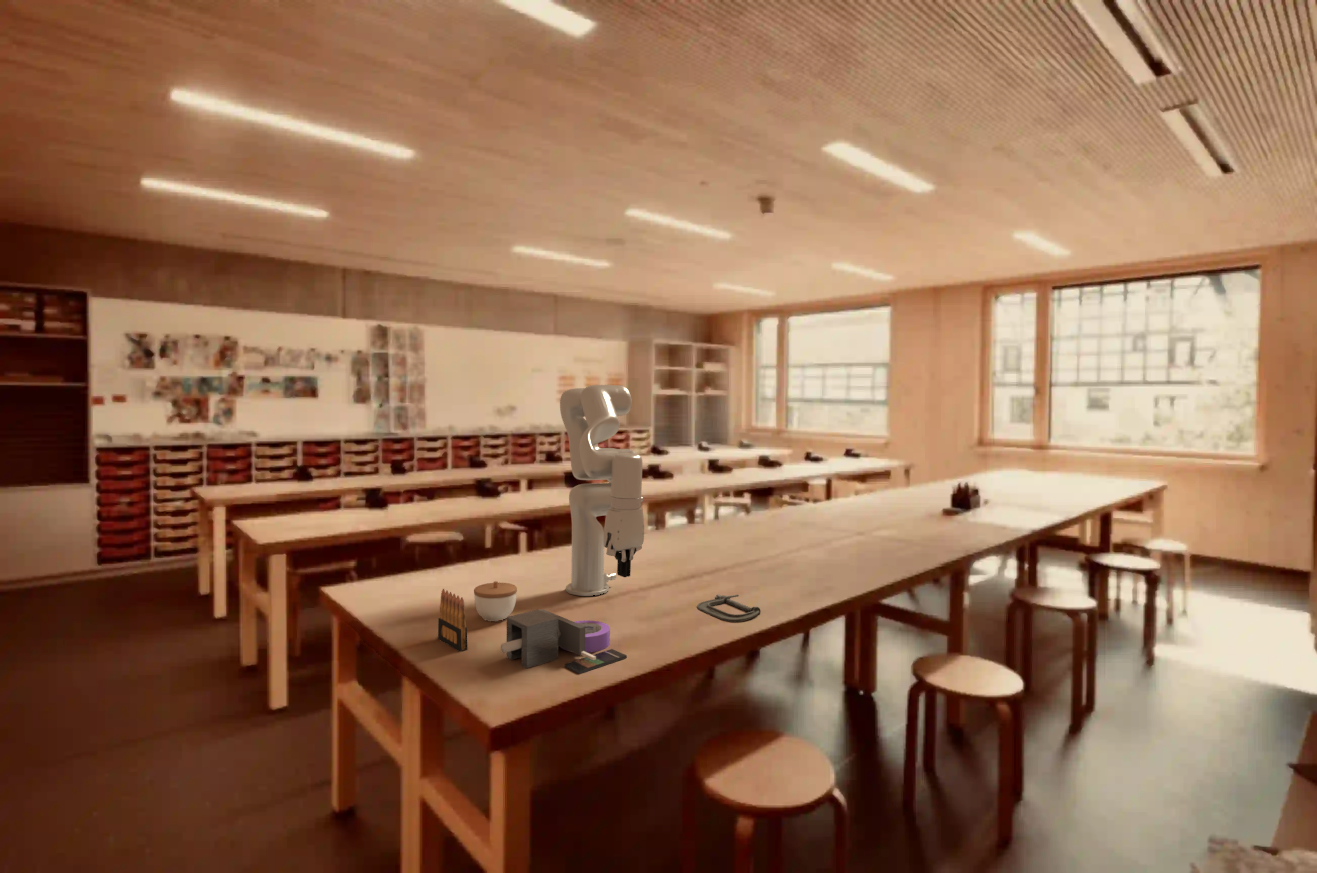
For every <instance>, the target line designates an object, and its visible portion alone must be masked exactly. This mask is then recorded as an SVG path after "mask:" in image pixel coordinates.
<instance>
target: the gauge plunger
mask: <svg viewBox="0 0 1317 873" xmlns="http://www.w3.org/2000/svg"><path fill="white" fill-rule="evenodd" d="M539 610H540V611H543V612H545V613H547V614H550V615H552V616H554V617H557V618H559V625H558V647H560V648H561V647H563V648H565V649H567V650H569V651H568V652H570V651H571V653H574V654H576V655H578V656H583V657H584V658H585V657H587V658H589V659H591V660H595V659H596V656H594V655H595V654H591V653H587V652H585V626H582V625H580V624H578V623H575V621H572V620H571V619H568V618H566V617H563V616H560V615H558V614H556V613H553V612H551V611H549V610H547V609H543V608H542V609H539ZM520 648H522V638H521V639H517V640H513V641H510V642H507V641H505V642H502V643H501V644H500V651H501V653H502V654H506V653H507V652H510V651H513V650H517V649H520ZM567 650H566V651H567Z"/></svg>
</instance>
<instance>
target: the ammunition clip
mask: <svg viewBox="0 0 1317 873" xmlns="http://www.w3.org/2000/svg"><path fill="white" fill-rule="evenodd" d="M464 600H465V599H464V598H463V597H461V598H460V596H459V595H457V596H456V593H453V594H452V592H451V591H450V592H449V591H448V590H445V588H442V589H441V594H440V604H439V617H438V621H437V623H438V624H437V625H438V626H437V630H438V632H437V639H438V640H439V641H440V640H441V641H440V642H442V643H444V644H445V645H448V646H449V647H451V648H452V649H454V650H456V651H457V652H461V653H462V652H464V651H468V627H467V625H466V622H467V619H466V618H467V616H466V610H465V608H466V607H465V601H464Z"/></svg>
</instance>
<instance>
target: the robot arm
mask: <svg viewBox="0 0 1317 873" xmlns="http://www.w3.org/2000/svg"><path fill="white" fill-rule="evenodd" d="M559 400H560V401H559V410H560V416H561V420H562V422H563V425H564V429H565V430H566V433H567V436H568V443H569V444H568V447H569V457H570V458H569V459H570V467H571V472H572V475H573V477H574V478H575V479H576V480H580V481H598V480H599V481H601V480H603V481H604V480H605V481H607V482H606V483H605V482H602V483H599V482H597V483H596V482H595V483H594V482H590V483H581V484H578V485H575V486H574V487H572V488H571V489H570V491H569V494H568V502H569V503H568V504H569V509H570V518H571V574H570V576H571V577H570V578H571V582H570V583H569V584H567V585H566V587H565V591H566V592H567V593H568V594H570V595H574V596H580V597H592V596H593V595H595V596H599V595H600V594H601V595H603V593H604V594H606V593H608V592H609V590H610V586H609V585H608V582H609V581H613V580H616V579H617V576H619V577H623V578H627V577H629V578H630V577H631V571H632V570H631V569H632V568H631V567H632V566H631V564H632V563H631V562H632V561H633V559H634V555H635V554H636V552H639V551H640V550H642V549H643V545H644V542H645V520H644V519H645V518H644V512H643V508H642V502H644V497H643V496H642V485H643V458H642V456H641V455H640V454H638V453H637V452H635V450H634V449H630V448H613V447H600V446H599V443H603V442H604V441H607V440H609V439H610V438H612V437H614V436H615V435H616V434H617V433H618V431H620V426H621V422H620V419H619V417H622V416H625V415H627V414H629V413H630V411H631V409H632V403H633V400H632V395H631V393H630V390H629V389H628V388H627V387H626V386H624V385H619V384H618V385H615V384H610V385H609V384H592V385H589V386H586V387H581V388H580V387H579V388H570V389H566V390H565V391H564V392H562V394H561V395H560V399H559ZM584 417H585V418H584ZM601 516H605V521H604V527H603V525H602V524H601V523H600V521H598V519H597V517H601ZM605 548H607V549H606V555H607V556H610V557H614V559H615V560H616V561H617V565H616V566H617V567H616V568H617V569H616V573H617V574H616V573H615V572H612V573H609V574H608V573H606V572H605ZM607 591H608V592H607Z"/></svg>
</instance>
